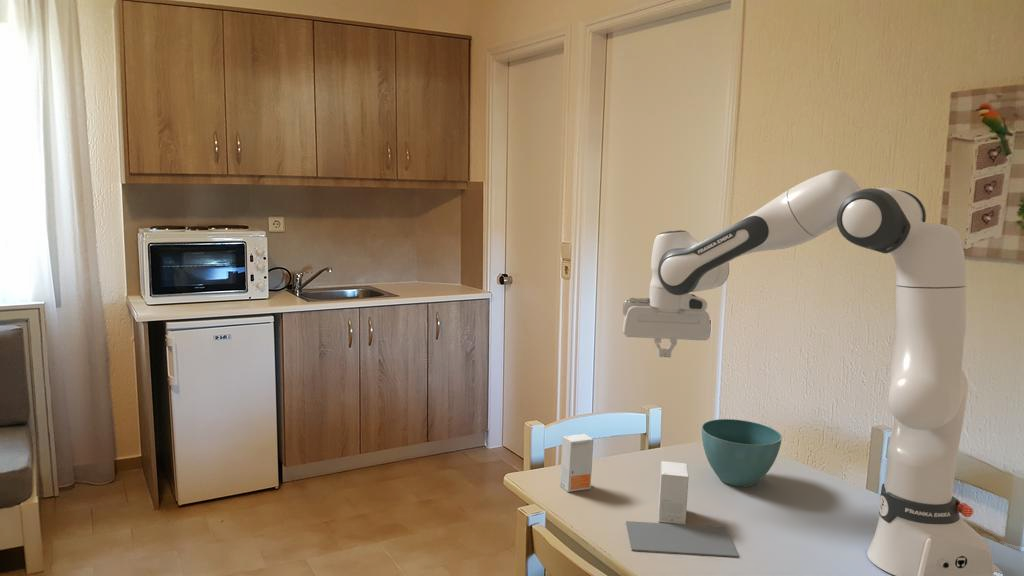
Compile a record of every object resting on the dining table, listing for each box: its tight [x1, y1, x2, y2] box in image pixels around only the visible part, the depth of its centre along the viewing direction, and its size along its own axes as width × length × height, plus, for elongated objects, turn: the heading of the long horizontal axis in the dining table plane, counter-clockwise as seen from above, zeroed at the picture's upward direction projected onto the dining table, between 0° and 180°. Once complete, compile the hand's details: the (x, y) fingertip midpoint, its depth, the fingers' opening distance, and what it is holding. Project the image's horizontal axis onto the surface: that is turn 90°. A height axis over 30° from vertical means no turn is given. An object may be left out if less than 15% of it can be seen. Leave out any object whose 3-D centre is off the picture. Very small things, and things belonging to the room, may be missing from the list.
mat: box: [625, 520, 739, 558], centre depth 145 cm, size 20×12×1 cm, turn 87°
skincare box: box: [559, 433, 594, 493], centre depth 167 cm, size 6×4×12 cm
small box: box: [658, 460, 690, 525], centre depth 155 cm, size 8×6×10 cm
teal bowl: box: [701, 418, 783, 488], centre depth 175 cm, size 18×18×12 cm
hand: (664, 356), depth 174 cm, fingers closed
